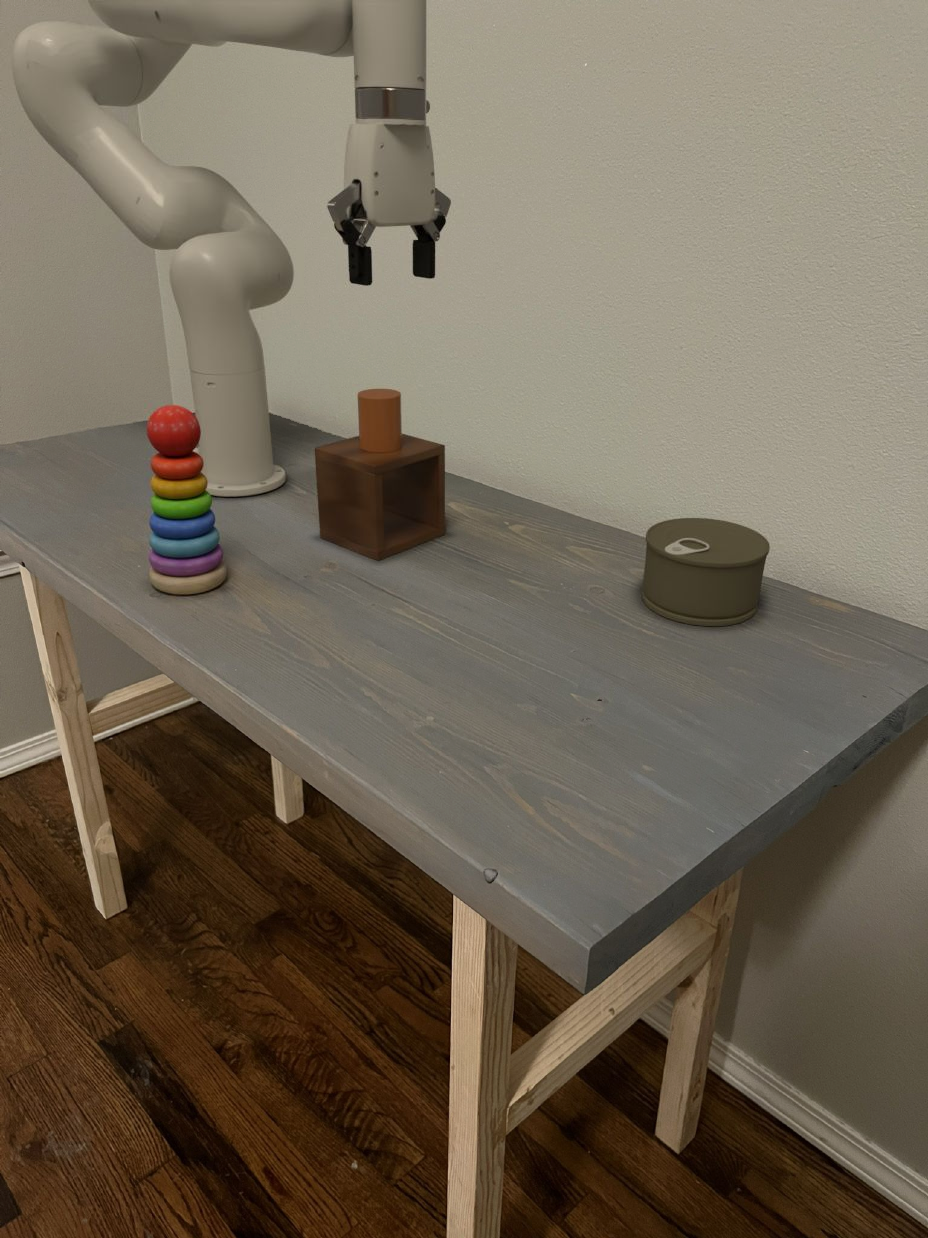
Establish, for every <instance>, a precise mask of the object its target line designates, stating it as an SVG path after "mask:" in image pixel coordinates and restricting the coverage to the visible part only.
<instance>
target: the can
mask: <svg viewBox="0 0 928 1238" xmlns="http://www.w3.org/2000/svg"><path fill="white" fill-rule="evenodd" d="M645 543H646V549H645V558H644V559H645V560H644V569H643V570H644V571H643V580H642V581H643V582H642V589H641V600H642V602H643V604H644V605H645V606H646V607H647V608H648V609H649V610H650V611H652V612H654V614H657V615H659V616H660V617H662V618H665V619H668V620H671V621H674V622H678V623H681V624H685V625H691V626H698V627H699V626H700V627H726V626H731V625H732V626H733V625H736V624H737V625H738V624H741V623H743V622H746V621H748V620H750V619H752V617H754V615H756V612H757V611H758V604H759V599H760V593H761V587H762V582H763V577H764V571H765V567H766V566H765V565H766V561H767V556H768V555H769V552H770V543H769V541H768V539H767V538H766V537H765V536H764V535H762V534H761V533H759V532H758V531H756V530H754V529H752V528H750V527H749V526H748V527H747V526H745V525H742V524H739V523H735V522H730V521H726V520H721V519H714V518H707V517H706V518H705V517H680V518H672V519H667V520H664V521H663V520H662V521H660V522H657V523H656V524H653V525H651V526H650V527H649V528H648V529H647V531H646V533H645Z"/></svg>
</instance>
